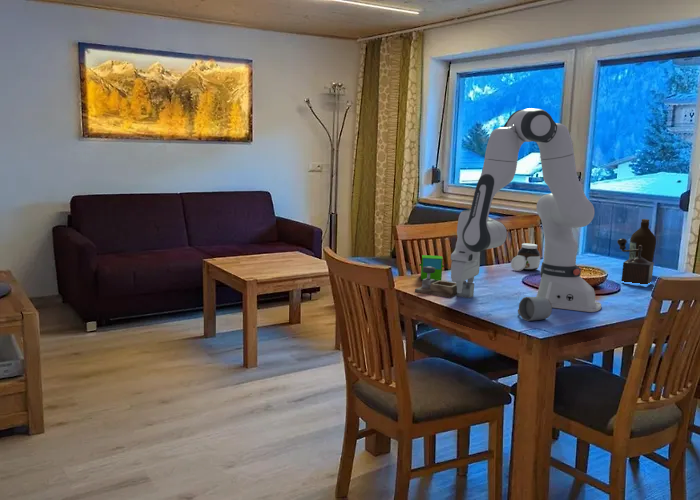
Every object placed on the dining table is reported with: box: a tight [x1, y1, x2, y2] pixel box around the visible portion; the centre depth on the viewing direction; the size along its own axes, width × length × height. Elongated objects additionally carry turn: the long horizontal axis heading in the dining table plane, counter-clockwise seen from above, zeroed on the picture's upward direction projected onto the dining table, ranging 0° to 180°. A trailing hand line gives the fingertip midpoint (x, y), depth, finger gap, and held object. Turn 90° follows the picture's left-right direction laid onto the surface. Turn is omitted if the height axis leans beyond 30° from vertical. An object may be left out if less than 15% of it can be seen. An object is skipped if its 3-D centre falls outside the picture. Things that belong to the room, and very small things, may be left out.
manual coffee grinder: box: [617, 238, 655, 284], centre depth 268 cm, size 16×11×18 cm
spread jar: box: [510, 242, 541, 272], centre depth 288 cm, size 12×11×12 cm
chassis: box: [414, 278, 457, 298], centre depth 239 cm, size 14×12×4 cm
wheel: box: [423, 266, 435, 280], centre depth 241 cm, size 5×5×5 cm
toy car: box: [418, 254, 445, 282], centre depth 261 cm, size 10×13×10 cm
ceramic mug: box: [517, 296, 553, 322], centre depth 207 cm, size 11×8×8 cm
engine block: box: [456, 280, 475, 299], centre depth 234 cm, size 5×4×6 cm
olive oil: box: [628, 218, 657, 262], centre depth 287 cm, size 11×11×25 cm
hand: (464, 290), depth 233 cm, fingers open, 8 cm apart
